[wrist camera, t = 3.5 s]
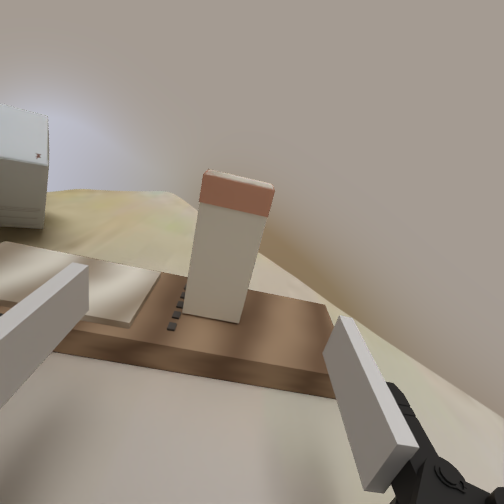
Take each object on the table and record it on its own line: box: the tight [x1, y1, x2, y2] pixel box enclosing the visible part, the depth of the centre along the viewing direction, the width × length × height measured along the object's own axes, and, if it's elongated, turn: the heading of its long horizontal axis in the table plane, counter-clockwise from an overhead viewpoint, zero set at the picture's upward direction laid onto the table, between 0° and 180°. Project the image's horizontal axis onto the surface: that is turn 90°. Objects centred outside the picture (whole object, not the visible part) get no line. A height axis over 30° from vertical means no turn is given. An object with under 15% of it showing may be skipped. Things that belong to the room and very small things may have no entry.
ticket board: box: [0, 241, 336, 399], centre depth 25 cm, size 33×10×3 cm, turn 90°
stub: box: [182, 169, 275, 323], centre depth 23 cm, size 5×2×12 cm, turn 90°
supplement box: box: [0, 104, 49, 229], centre depth 31 cm, size 7×7×13 cm
